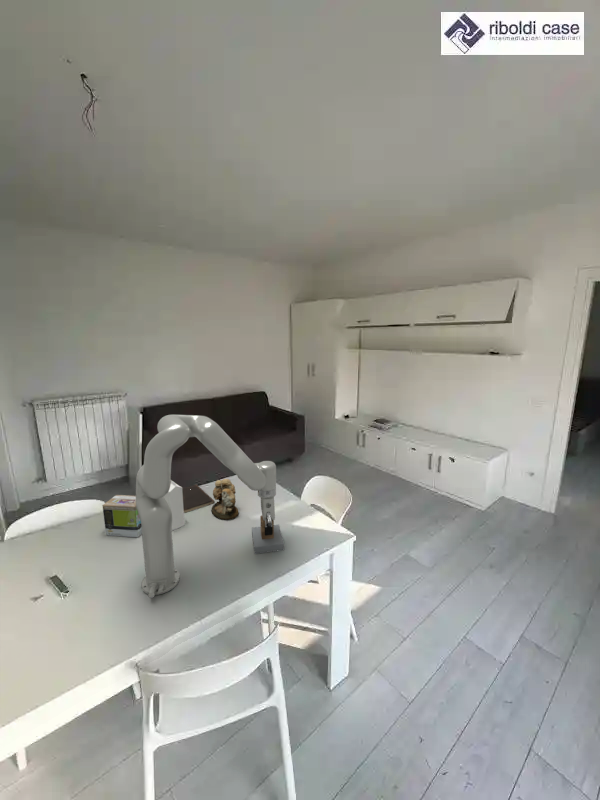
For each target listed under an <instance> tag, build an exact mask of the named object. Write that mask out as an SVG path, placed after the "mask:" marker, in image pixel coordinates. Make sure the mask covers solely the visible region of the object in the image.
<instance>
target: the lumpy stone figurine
mask: <svg viewBox="0 0 600 800" xmlns="http://www.w3.org/2000/svg"><path fill="white" fill-rule="evenodd" d="M235 494H236V486H235V484H233V483H232V481H231V479H229V478H224V479H221V480H220V479H217V480H216V481H215V483H214V488H213V491H212V497H213V500H214V501H216V502H215V503H213V505H212V507H211V513H212V516H214V517H215V518H216V519H218V520H221V521H231V520H234V519H237V517H239V513H240V512H239V509H238V508H237V506H236V503H237V502H236V501H237V500H236V495H235Z"/></svg>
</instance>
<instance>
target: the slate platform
mask: <svg viewBox="0 0 600 800" xmlns="http://www.w3.org/2000/svg"><path fill="white" fill-rule="evenodd" d="M251 535H252V536H251V537H252V546H253V552H254V555H257V554H262V553H264V554H265V553H271V552H272V551H273V552H278V551H277V550H281V551H284V550H285V542H284V539H283V535H282V531H281V528H280V524H274V538H270V539H262V537H261V526H255V527H254V526H253V527H251ZM283 549H284V550H283Z"/></svg>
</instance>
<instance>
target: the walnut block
mask: <svg viewBox="0 0 600 800" xmlns="http://www.w3.org/2000/svg"><path fill="white" fill-rule="evenodd" d="M266 519H267V518H266ZM274 521H275V520H272V526H273V534H272V535H267V536H265V521H264V520H263V516H262V515H260V527H261V537H262V539H270V538H274V525H275V523H274ZM266 522H267V523H268V521H266Z"/></svg>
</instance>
